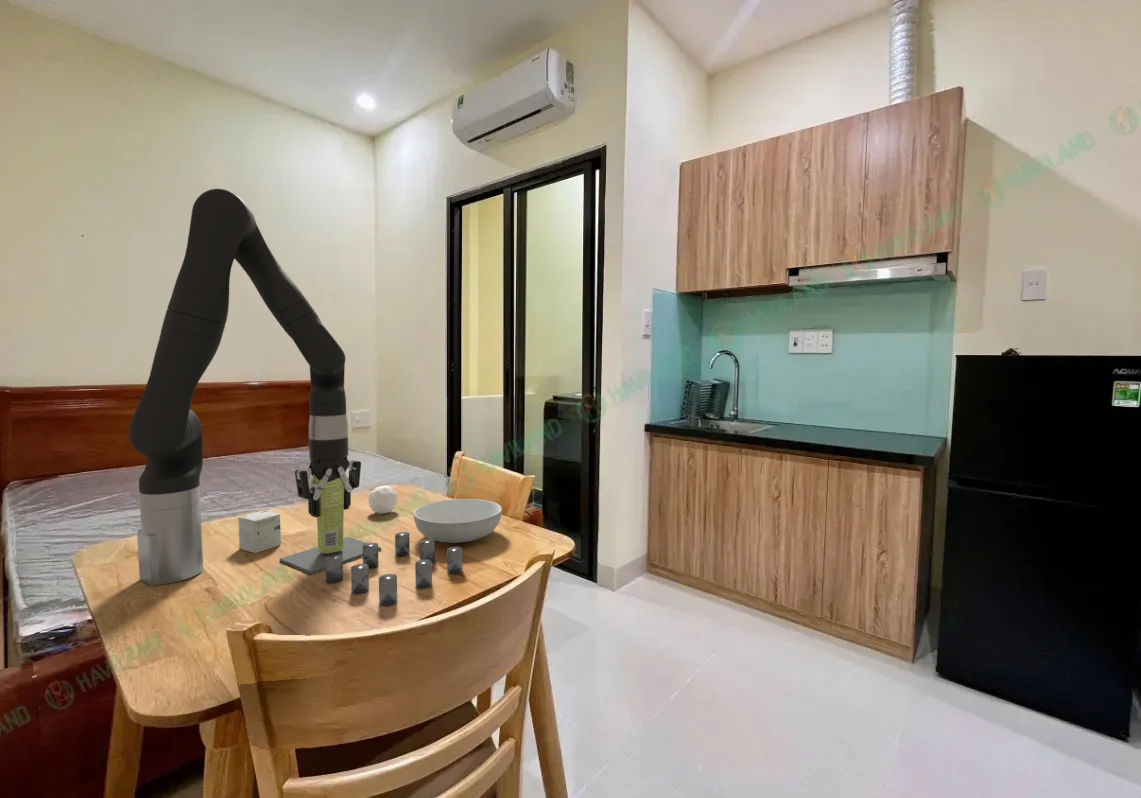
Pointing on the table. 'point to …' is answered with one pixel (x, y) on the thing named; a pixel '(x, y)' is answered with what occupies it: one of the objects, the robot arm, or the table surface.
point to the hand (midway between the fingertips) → (330, 512)
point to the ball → (383, 499)
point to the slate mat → (324, 556)
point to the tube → (330, 516)
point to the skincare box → (259, 531)
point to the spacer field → (390, 580)
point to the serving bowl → (457, 519)
